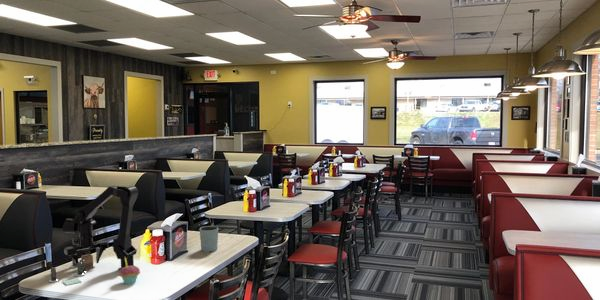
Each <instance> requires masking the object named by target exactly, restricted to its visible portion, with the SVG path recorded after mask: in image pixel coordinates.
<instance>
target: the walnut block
mask: <svg viewBox="0 0 600 300" xmlns="http://www.w3.org/2000/svg"><path fill="white" fill-rule="evenodd" d="M80 258H81V259H80V260H83V259H84V260H85V270H91V269H94V255H92V254H91V253H88V254H82V255H81V257H80Z"/></svg>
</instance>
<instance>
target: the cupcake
mask: <svg viewBox="0 0 600 300" xmlns="http://www.w3.org/2000/svg"><path fill="white" fill-rule="evenodd" d="M125 264H126V266H125V267H124V268H122V269H121V270H119V274H118V276H119V277H121V278H122V281H123V283H124V284H125V285H132V283H133V284H135V283H136V282H137V279H138V276H139V275H140V273H141V270H140V268H139V266H136V265H132V266H128V265H127V260H126V258H125Z"/></svg>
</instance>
